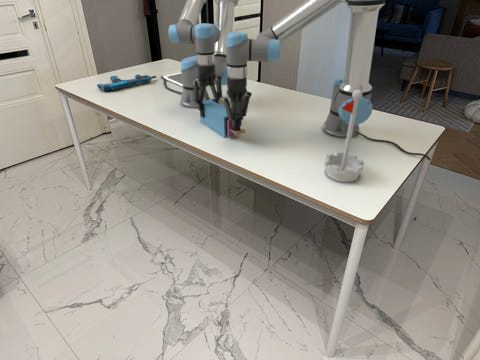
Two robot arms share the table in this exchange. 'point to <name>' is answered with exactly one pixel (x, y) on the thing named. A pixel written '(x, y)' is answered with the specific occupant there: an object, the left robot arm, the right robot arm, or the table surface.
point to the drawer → (232, 129)
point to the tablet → (175, 78)
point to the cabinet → (215, 117)
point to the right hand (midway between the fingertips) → (236, 133)
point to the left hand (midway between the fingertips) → (209, 114)
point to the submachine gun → (124, 82)
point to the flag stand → (346, 151)
